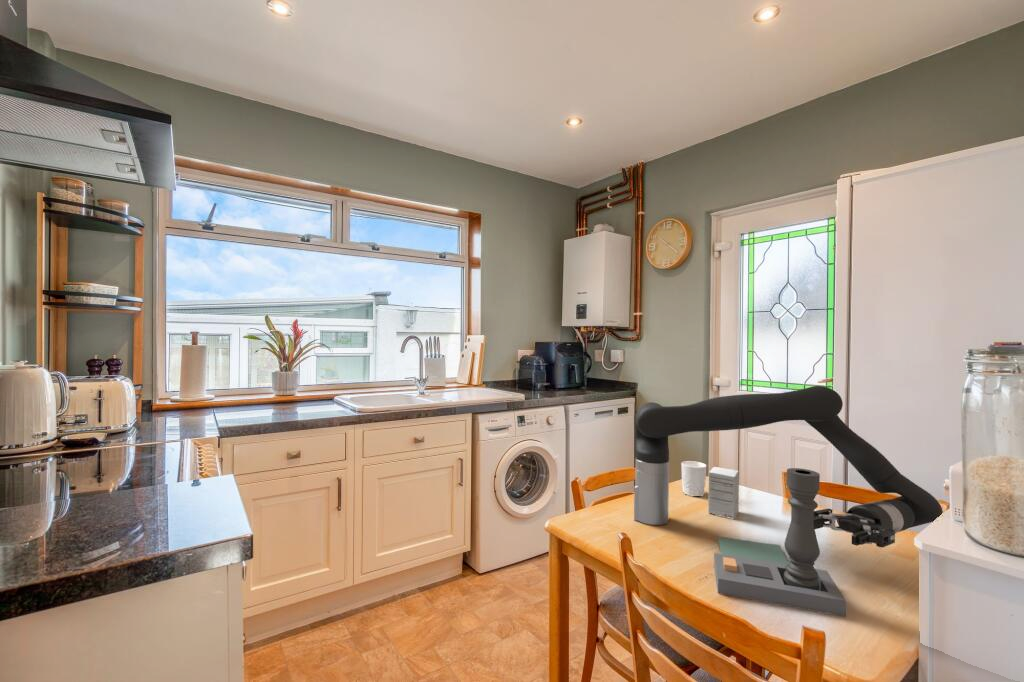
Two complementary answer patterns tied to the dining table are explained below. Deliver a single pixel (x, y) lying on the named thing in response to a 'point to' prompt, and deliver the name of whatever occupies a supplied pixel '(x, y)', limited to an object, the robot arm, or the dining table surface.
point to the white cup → (693, 477)
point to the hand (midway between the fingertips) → (831, 532)
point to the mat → (752, 550)
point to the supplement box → (723, 492)
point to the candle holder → (802, 529)
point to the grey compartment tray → (775, 585)
